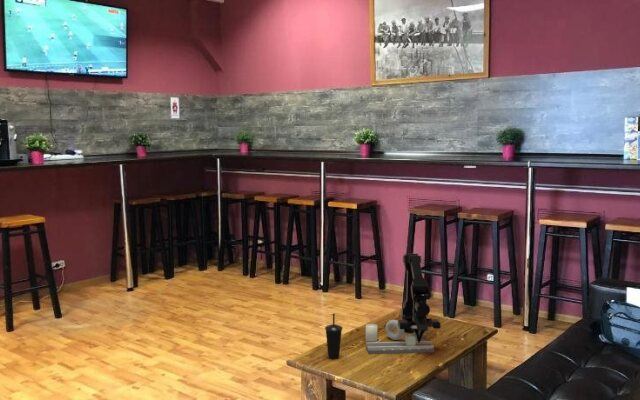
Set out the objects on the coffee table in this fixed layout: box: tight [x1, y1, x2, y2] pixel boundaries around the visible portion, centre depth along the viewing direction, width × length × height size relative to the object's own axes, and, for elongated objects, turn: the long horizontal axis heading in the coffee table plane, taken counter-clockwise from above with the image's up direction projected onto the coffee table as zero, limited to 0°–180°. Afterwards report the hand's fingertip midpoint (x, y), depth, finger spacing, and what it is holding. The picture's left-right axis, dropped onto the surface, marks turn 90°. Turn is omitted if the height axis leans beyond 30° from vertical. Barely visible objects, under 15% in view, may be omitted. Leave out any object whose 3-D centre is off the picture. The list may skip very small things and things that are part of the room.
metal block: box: [413, 331, 428, 341], centre depth 285 cm, size 5×5×4 cm
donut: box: [384, 319, 405, 341], centre depth 286 cm, size 10×3×10 cm, turn 50°
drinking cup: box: [324, 313, 343, 360], centre depth 264 cm, size 8×8×20 cm
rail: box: [365, 340, 435, 355], centre depth 273 cm, size 8×30×3 cm, turn 93°
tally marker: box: [404, 333, 416, 346], centre depth 273 cm, size 4×4×5 cm
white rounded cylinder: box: [365, 323, 378, 343], centre depth 286 cm, size 6×6×7 cm
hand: (418, 342), depth 274 cm, fingers closed
